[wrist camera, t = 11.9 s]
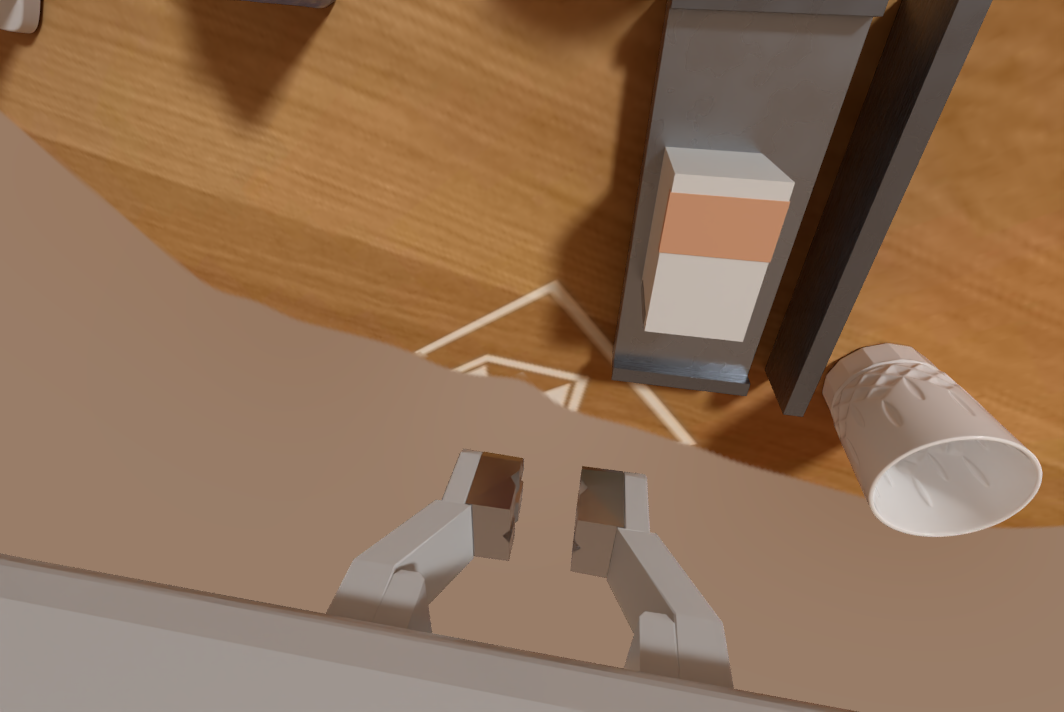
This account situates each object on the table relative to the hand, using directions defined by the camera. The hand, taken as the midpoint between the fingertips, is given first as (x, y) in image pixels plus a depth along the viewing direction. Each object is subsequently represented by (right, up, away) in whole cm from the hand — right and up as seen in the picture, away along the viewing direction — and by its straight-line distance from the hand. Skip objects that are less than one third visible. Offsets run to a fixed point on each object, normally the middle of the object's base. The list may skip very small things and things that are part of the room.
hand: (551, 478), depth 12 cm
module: (+9, +11, +16) cm, 21 cm away
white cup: (+24, +1, +23) cm, 33 cm away
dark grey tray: (+12, +12, +18) cm, 25 cm away
